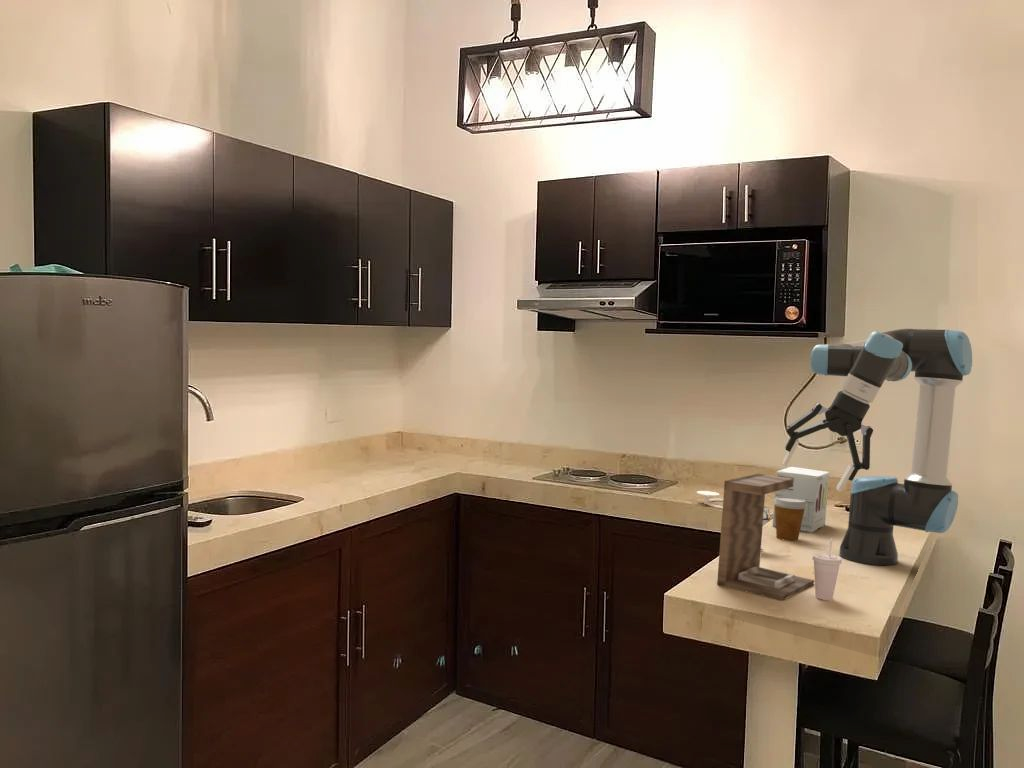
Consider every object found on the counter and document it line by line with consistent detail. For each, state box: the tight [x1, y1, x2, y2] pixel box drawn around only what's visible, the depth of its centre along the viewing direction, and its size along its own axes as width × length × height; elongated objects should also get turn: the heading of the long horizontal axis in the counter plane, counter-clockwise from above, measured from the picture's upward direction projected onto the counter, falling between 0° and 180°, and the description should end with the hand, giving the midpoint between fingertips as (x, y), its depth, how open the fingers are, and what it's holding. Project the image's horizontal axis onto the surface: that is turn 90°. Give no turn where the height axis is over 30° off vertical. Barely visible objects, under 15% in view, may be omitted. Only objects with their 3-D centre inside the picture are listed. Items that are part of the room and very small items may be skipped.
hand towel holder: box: [696, 490, 723, 510], centre depth 313 cm, size 17×4×21 cm
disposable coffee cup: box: [773, 497, 806, 542], centre depth 263 cm, size 10×10×12 cm
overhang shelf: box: [716, 473, 815, 601], centre depth 210 cm, size 20×16×25 cm
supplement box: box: [772, 466, 831, 533], centre depth 284 cm, size 17×13×18 cm
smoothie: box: [812, 537, 842, 601], centre depth 201 cm, size 6×6×14 cm
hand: (811, 477), depth 204 cm, fingers open, 13 cm apart
